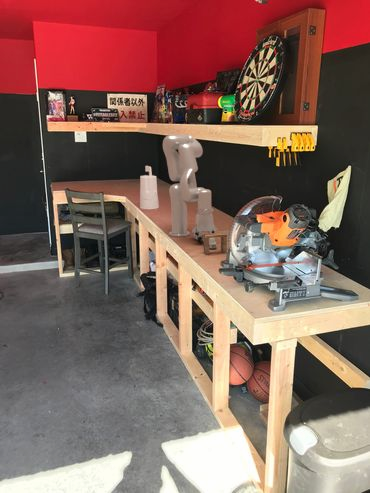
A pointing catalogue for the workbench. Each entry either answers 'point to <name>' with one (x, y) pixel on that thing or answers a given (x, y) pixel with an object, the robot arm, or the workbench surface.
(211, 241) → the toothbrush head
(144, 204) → the white pump bottle
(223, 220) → the workbench surface
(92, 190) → the workbench surface
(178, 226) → the robot arm
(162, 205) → the workbench surface
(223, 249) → the walnut sleeve
